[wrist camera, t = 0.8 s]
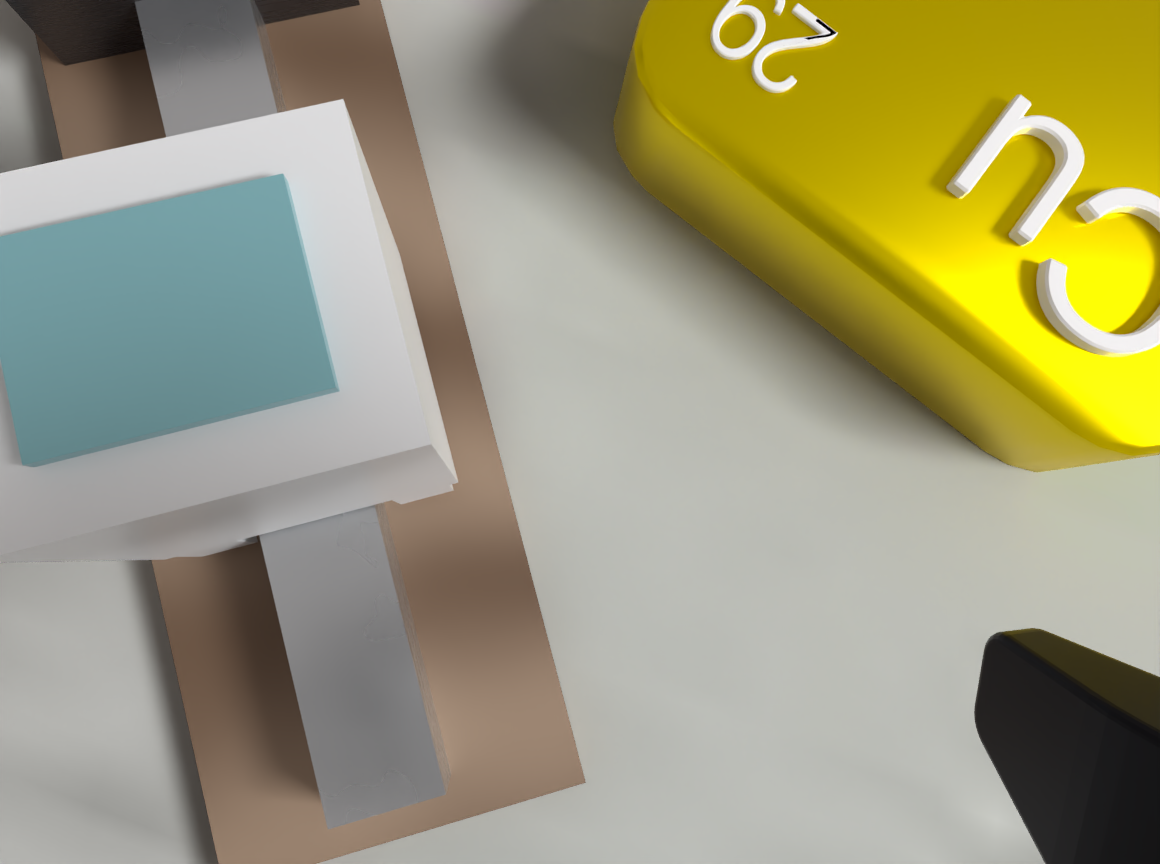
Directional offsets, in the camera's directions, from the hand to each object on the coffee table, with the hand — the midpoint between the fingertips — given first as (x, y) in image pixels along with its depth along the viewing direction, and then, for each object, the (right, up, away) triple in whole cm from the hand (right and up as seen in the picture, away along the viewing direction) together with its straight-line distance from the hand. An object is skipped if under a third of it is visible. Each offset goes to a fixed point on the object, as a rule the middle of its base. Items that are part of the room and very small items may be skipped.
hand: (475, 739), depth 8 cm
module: (-5, +3, +14) cm, 15 cm away
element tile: (+11, +11, +18) cm, 24 cm away
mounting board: (-6, +4, +15) cm, 17 cm away
